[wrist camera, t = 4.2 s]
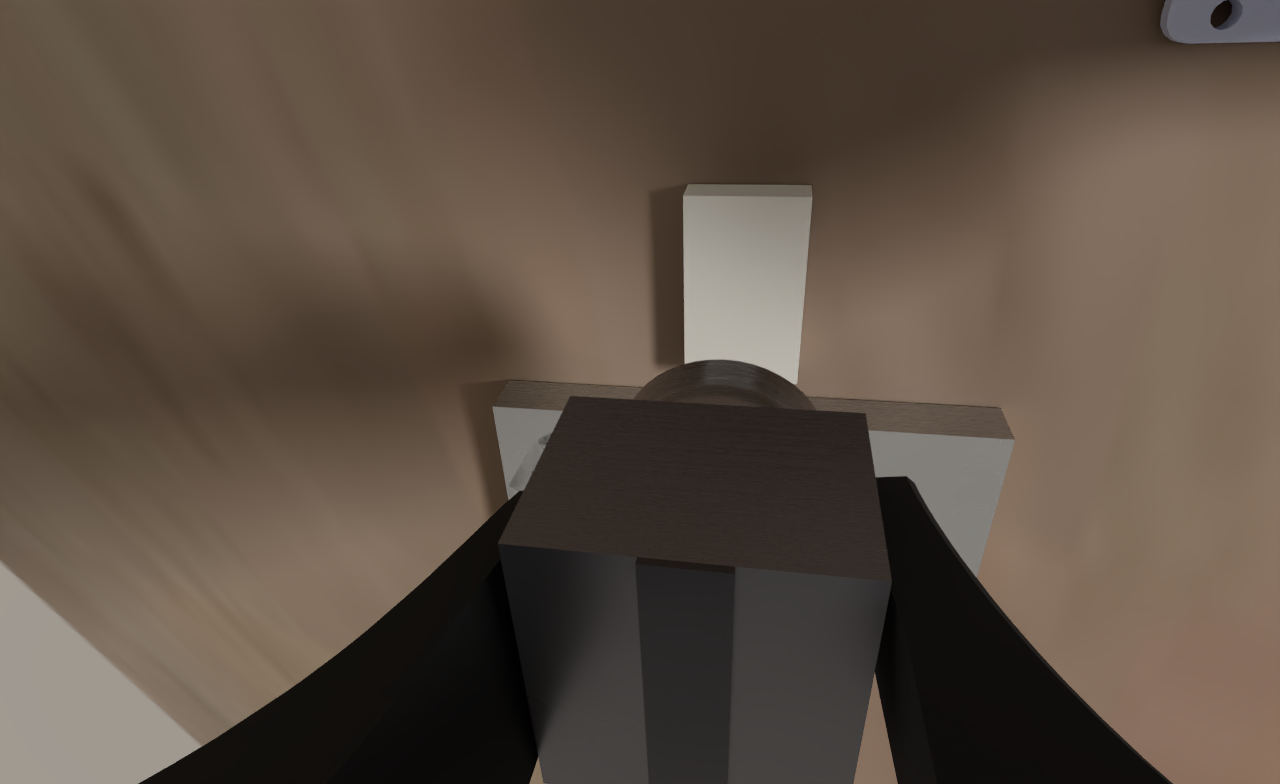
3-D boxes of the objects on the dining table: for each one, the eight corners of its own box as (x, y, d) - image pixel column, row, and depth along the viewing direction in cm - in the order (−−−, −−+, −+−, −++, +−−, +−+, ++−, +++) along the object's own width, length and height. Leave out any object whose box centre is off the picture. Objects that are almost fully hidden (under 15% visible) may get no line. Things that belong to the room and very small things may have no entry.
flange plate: (1000, 408, 20) (1017, 444, 18) (947, 613, 24) (957, 655, 22) (509, 380, 22) (490, 410, 21) (538, 571, 26) (524, 607, 25)
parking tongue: (811, 185, 18) (812, 197, 17) (796, 365, 20) (797, 384, 19) (688, 183, 18) (682, 195, 17) (689, 360, 21) (684, 378, 20)
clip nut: (854, 342, 11) (893, 589, 7) (828, 554, 13) (845, 837, 9) (601, 332, 12) (493, 550, 8) (616, 534, 14) (541, 790, 10)
